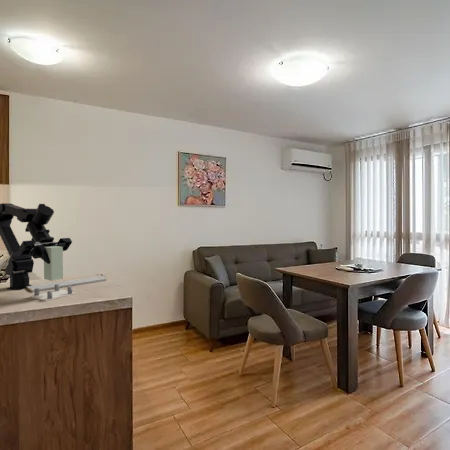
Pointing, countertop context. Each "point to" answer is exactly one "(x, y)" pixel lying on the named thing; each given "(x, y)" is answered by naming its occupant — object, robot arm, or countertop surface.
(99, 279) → the grey bar clamp
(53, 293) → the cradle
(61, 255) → the pale green rectangular block
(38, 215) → the robot arm
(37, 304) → the countertop surface
